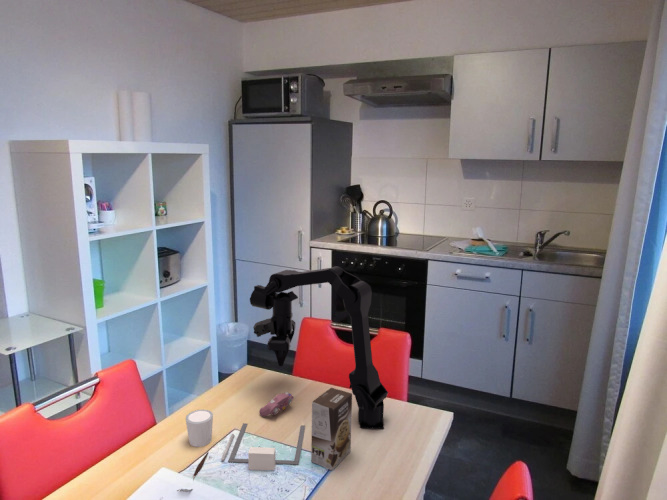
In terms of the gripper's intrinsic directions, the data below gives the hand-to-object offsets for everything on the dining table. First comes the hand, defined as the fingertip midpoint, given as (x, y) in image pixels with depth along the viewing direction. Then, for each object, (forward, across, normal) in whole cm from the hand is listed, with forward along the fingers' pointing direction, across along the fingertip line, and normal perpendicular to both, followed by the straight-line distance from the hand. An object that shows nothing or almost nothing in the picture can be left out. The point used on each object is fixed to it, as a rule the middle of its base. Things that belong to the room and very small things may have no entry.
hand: (282, 360), depth 146 cm
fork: (+12, +39, -15) cm, 43 cm away
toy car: (+11, +11, 0) cm, 16 cm away
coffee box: (+11, +31, +16) cm, 37 cm away
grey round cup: (+11, +26, -18) cm, 33 cm away
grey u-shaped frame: (+11, +27, -1) cm, 29 cm away
